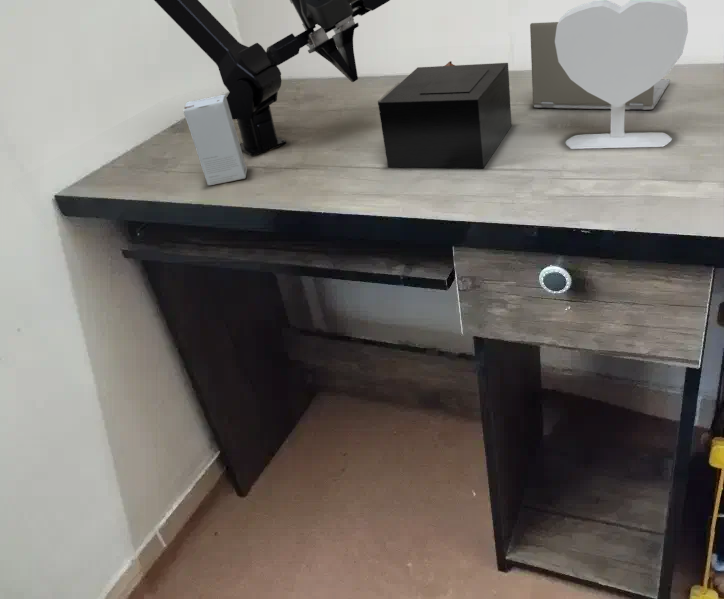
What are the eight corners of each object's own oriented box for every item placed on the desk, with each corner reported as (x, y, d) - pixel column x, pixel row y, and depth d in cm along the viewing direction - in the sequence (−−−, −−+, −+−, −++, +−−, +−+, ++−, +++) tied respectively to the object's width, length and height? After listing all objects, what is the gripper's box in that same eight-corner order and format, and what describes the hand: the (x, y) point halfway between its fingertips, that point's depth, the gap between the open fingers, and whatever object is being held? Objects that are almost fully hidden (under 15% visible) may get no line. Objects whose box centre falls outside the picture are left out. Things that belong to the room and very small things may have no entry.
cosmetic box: (247, 169, 112) (227, 92, 106) (246, 180, 108) (225, 101, 102) (208, 176, 112) (185, 100, 106) (205, 187, 108) (182, 109, 102)
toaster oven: (382, 167, 104) (371, 102, 99) (419, 127, 116) (411, 66, 111) (483, 168, 98) (477, 98, 92) (511, 125, 109) (508, 61, 104)
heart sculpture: (679, 132, 97) (689, -10, 88) (679, 146, 93) (690, -1, 84) (560, 135, 103) (558, 2, 94) (556, 149, 99) (553, 11, 90)
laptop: (670, 83, 114) (676, -4, 107) (652, 111, 105) (657, 18, 98) (557, 83, 123) (556, 2, 116) (532, 109, 114) (529, 23, 107)
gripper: (253, 2, 93) (313, 112, 98) (374, -67, 95) (426, 44, 100) (242, 14, 103) (297, 112, 109) (352, -49, 105) (400, 51, 111)
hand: (355, 80), depth 107 cm, fingers closed
